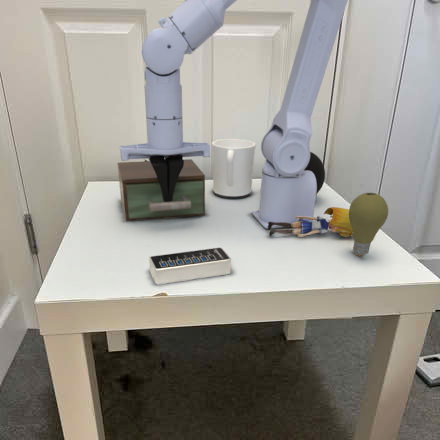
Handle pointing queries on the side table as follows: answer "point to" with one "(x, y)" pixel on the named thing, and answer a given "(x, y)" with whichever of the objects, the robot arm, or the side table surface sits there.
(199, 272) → the multiport hub
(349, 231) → the figurine
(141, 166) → the cabinet
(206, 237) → the side table surface
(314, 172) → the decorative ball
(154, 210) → the drawer
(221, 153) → the mug
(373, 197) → the light bulb
